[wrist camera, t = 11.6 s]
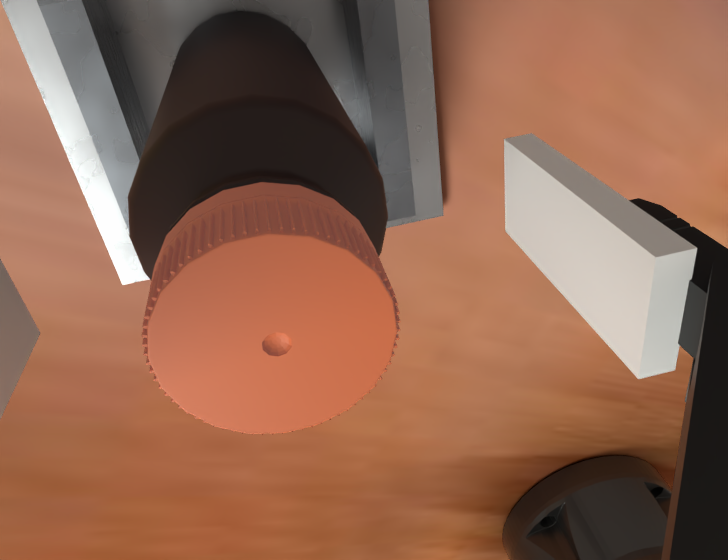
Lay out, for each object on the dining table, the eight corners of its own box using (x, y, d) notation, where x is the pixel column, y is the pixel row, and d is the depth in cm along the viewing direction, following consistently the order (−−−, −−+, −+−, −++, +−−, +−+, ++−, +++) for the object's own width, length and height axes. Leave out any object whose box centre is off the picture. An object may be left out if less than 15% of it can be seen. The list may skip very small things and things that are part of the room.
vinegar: (219, -26, 25) (203, 94, 9) (346, 67, 28) (515, 287, 12) (145, 108, 28) (21, 405, 11) (271, 180, 31) (323, 501, 14)
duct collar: (439, 209, 34) (467, 248, 30) (124, 277, 33) (110, 328, 29) (410, -180, 25) (446, -197, 21) (-39, -111, 23) (-96, -116, 19)
